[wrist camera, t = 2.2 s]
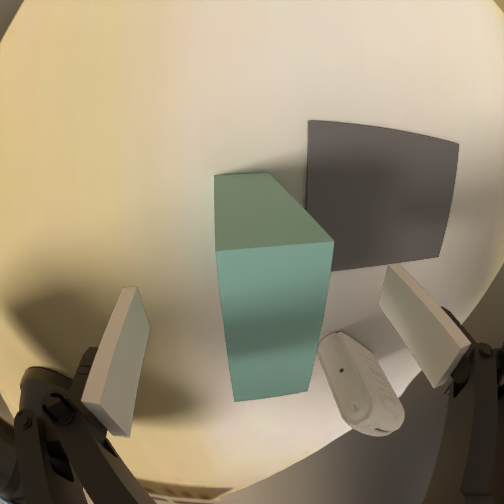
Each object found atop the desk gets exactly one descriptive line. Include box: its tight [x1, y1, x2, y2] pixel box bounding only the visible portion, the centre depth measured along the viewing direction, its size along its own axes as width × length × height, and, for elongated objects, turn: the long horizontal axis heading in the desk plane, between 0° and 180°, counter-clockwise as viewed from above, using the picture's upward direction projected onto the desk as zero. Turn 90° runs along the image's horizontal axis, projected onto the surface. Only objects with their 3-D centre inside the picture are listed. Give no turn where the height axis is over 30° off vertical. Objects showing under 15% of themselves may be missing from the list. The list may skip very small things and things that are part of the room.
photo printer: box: [317, 332, 404, 436], centre depth 25 cm, size 10×4×12 cm, turn 47°
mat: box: [306, 121, 459, 271], centre depth 22 cm, size 17×13×1 cm
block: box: [214, 173, 334, 402], centre depth 16 cm, size 4×9×12 cm, turn 1°
